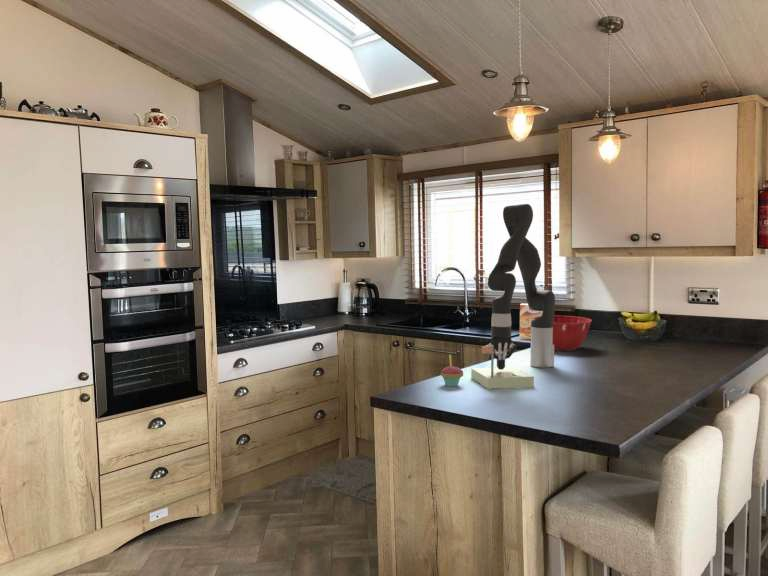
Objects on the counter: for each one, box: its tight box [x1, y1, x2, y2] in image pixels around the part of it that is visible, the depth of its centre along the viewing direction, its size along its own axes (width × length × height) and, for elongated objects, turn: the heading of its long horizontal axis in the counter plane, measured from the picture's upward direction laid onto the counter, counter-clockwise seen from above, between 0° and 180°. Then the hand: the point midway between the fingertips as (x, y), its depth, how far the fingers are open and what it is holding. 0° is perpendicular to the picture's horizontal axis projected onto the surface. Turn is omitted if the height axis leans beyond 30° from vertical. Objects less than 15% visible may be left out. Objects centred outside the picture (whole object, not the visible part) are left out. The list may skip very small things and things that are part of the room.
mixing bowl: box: [533, 315, 592, 352], centre depth 317 cm, size 28×28×15 cm
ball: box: [500, 371, 512, 377], centre depth 237 cm, size 5×5×5 cm
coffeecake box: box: [519, 303, 543, 340], centre depth 350 cm, size 15×7×20 cm, turn 73°
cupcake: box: [440, 354, 464, 387], centre depth 237 cm, size 9×8×12 cm
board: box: [470, 345, 535, 390], centre depth 241 cm, size 20×19×16 cm
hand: (500, 369), depth 242 cm, fingers closed
